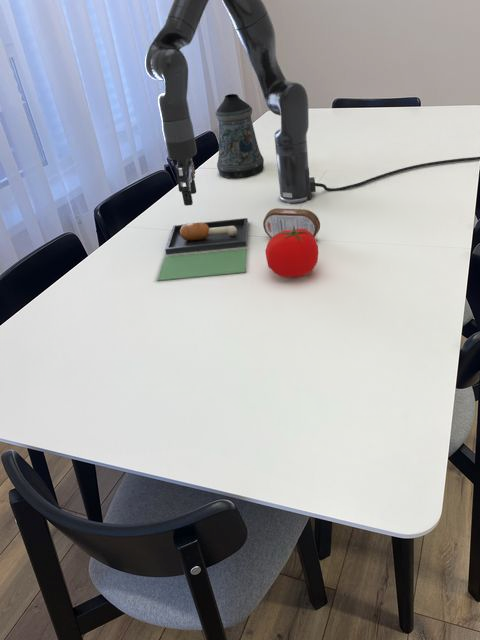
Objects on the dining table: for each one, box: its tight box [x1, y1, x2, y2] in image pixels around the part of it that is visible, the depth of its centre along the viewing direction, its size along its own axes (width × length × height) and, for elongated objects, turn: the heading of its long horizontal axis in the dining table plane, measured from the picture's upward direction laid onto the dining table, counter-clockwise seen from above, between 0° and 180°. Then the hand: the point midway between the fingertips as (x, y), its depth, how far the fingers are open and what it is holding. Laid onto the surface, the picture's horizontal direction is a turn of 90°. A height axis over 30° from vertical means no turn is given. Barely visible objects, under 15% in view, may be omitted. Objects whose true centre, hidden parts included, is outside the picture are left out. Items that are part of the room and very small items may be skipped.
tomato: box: [265, 226, 319, 278], centre depth 135 cm, size 13×12×11 cm
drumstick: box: [180, 222, 237, 241], centre depth 158 cm, size 16×5×5 cm, turn 89°
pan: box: [164, 217, 249, 256], centre depth 159 cm, size 22×16×2 cm
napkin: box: [157, 247, 248, 282], centre depth 147 cm, size 22×13×1 cm, turn 89°
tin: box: [262, 207, 321, 239], centre depth 151 cm, size 15×3×8 cm, turn 71°
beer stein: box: [215, 93, 265, 180], centre depth 197 cm, size 16×19×25 cm
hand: (190, 199), depth 153 cm, fingers open, 8 cm apart
